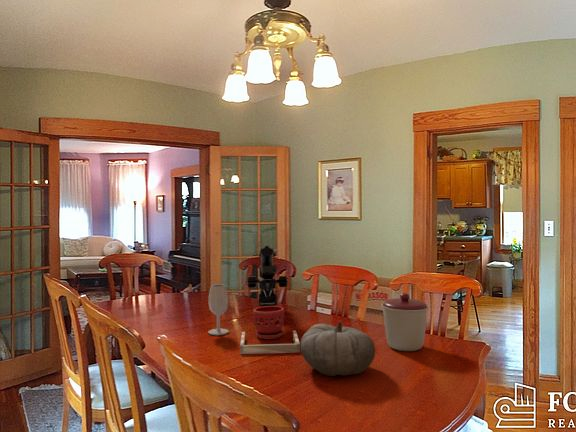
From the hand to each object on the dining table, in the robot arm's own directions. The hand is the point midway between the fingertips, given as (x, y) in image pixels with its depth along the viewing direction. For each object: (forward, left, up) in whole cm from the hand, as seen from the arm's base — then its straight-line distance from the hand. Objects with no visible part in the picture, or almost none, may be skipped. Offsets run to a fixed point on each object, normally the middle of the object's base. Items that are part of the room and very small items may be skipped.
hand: (267, 296), depth 204 cm
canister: (-6, +63, -14) cm, 65 cm away
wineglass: (+21, -11, -14) cm, 28 cm away
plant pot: (+13, +11, -14) cm, 22 cm away
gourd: (+30, +53, -14) cm, 63 cm away
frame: (+22, +18, -14) cm, 32 cm away
